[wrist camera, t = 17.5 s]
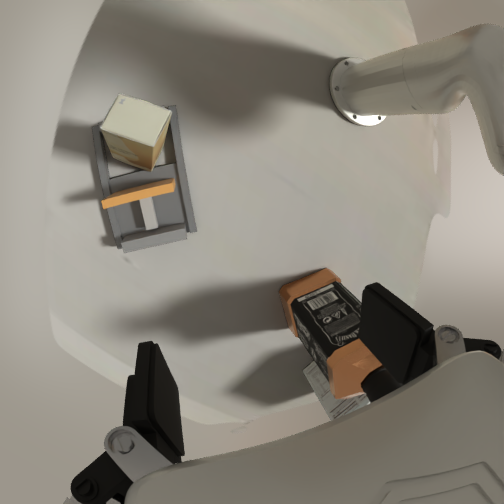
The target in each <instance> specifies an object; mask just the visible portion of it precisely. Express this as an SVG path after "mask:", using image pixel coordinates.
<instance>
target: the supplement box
mask: <svg viewBox="0 0 504 504" xmlns="http://www.w3.org/2000/svg"><path fill="white" fill-rule="evenodd" d="M303 373H304V375H305V376H306V378H307V380H308V382H309V383H310V385H311V387H312V389H313V390H314V392H315V394H316V395H317V397H318V399H319V401H320V402H321V404H322V406H323V408H324V409H325V411H326V413H327V414H328V416H329V418H330V420H331V421H332V420H334V419H337V418H339V417H341V416H344V415H346V414H348V413H350V412H353V411H355V410H357V409H359V408H361V407H363V406H365V405H368V404H370V401H369V399H368V397H367V395H366V393H364V394H361V395H358V396H355V397H352V398H349V399H335V398H334V396H333V394H332V393H331V391H330V384H329V382H328V380H327V379H326V377H325V376H324V375H323V373H322V372H321V370H320V369H319V367H318V366H317V364H316V363H315V361H313V362H312V363H311V364H310V365H308V366H307V367H306V368H305V369H304V370H303Z"/></svg>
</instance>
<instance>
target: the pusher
mask: <svg viewBox="0 0 504 504" xmlns="http://www.w3.org/2000/svg"><path fill="white" fill-rule="evenodd" d="M175 185H176V184H175V179H174V178H171V179H167V180H162V181H158V182H153V183H149V184H145V185H141V186H137V187H133V188H129V189H125V190H122V191H118V192H115V193H113V194H112V195H110V196H108V197H107V198H105V199H103V200H102V201H101V202H102V206H103V209H106V208H109V207H113V206H117V205H120V204H124V203H128V202H132V201H136V200H140V205H141V209H142V214H143V218H144V222H145V226H146V230H150V229H154V228H158V222H157V217H156V213H155V209H154V204H153V199H152V196H157V195H161V194H165V193H170V192H174V189H175Z"/></svg>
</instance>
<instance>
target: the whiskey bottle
mask: <svg viewBox="0 0 504 504" xmlns="http://www.w3.org/2000/svg"><path fill="white" fill-rule="evenodd" d="M279 294H280V298H281V302H282V305H283V309H284V313H285V317H286V320H287V324H288V327H289V328H290V330H291V331H292V332H293V334H294V335H295V337H298V338H299V339H300V340H301V342H302V343H303V345H304V346H305V348H306V349H307V351H308V352H309V354H310V355H311V357H312V358H313V360H314V361H315V363H316V364H317V366H318V367H319V369H320V370H321V372H322V373H323V375H324V376H325V377H326V379H327V380H328V382H329V384H330V391H331V393H332V394H333V396H334V398H335V399H349V398H352V397H355V396H358V395H361V394H364V393H366V395H367V397H368V399H369V401H370V403H372V402H374V401H376V400H378V399H380V398H381V397H383V396H385V395H387V394H389V393H391V392H393V391H395V390H396V389H398V388H400V387H402V386H403V384H402V383H398V382H397V381H396V379H395V378H394V377H393V376H392V375H391V374H390V373H389V372H388V370H387V369H386V368H385V367H384V366H383V365H382V364H381V363H380V362H379V360H378V359H377V358H376V357H375V356H374V355H373V354H372V353H371V351H370V350H369V349H368V348H367V347H366V346H365V345H364V344H363V343H362V342H361V340H360V339H359V336H358V332H359V323H360V314H361V304H362V303H361V302H360V301H359V300H358V299H357V298H356V297H355V296H354V295H353V294H352V293H351V292H350V291H349V290H348V289H346V288H345V287H344V286H343V285H342V284H341V279H340V278H339V277H338V276H337V275H336V274H335V273H334V272H333V271H332V270H330V269H327V268H325V269H323V270H320V271H318V272H315V273H313V274H311V275H308V276H306V277H303V278H301V279H298V280H296V281H293V282H291V283H288V284H286V285H283V286H282V288H281V289H280V291H279Z"/></svg>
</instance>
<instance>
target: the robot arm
mask: <svg viewBox="0 0 504 504" xmlns="http://www.w3.org/2000/svg"><path fill="white" fill-rule="evenodd" d="M329 85H330V92H331V96H332V99H333V101H334V103H335V105H336V107H337V108H338V110H339V111H340V112H341V113H342V114H343V116H344V117H346V118H347V119H348V120H349V121H351V122H353V123H355V124H357V125H360V126H373V125H377V124H379V123H380V122H382V121H383V120H384V119H385V117H386V116H389V115H407V114H445V113H449V112H451V111H453V110H455V109H456V108H457V107H458V106H459V105H460V104H461V103H462V101H463V100H464V98H465V96H466V95H467V96H468V98H469V99H470V101H471V104H472V107H473V109H474V111H475V114H476V117H477V120H478V124H479V126H480V130H481V134H482V137H483V141H484V144H485V148H486V152H487V155H488V158H489V160H490V162H491V164H492V166H493V167H494V169H496V171H497V172H499V173H500V174H501V175H503V176H504V28H503V27H500V26H498V25H494V24H480V25H476V26H472V27H469V28H467V29H464V30H461V31H459V32H456V33H454V34H452V35H449V36H446V37H443V38H440V39H437V40H433V41H430V42H426V43H423V44H419V45H415V46H412V47H408V48H404V49H401V50H398V51H394V52H391V53H388V54H385V55H382V56H379V57H376V58H373V59H370V60H367V61H366V60H364V59H360V58H347V59H344V60H342V61H340V62H339V63H337V65H336V66H335V67H334V68H333V70H332V72H331V76H330V83H329ZM433 326H434V325H433V324H431V323H430V322H429V321H428V320H426V319H425V318H424V317H422V316H421V315H420V314H419V313H417V312H416V311H415V310H414V309H412V308H411V307H410V306H408V305H407V304H406V303H405V302H403V301H402V300H401V299H399V298H398V297H397V296H395V295H394V294H393V293H391V292H390V291H389V290H387V289H386V288H385V287H383V286H382V285H381V284H379V283H377V282H375V283H373V284H370V285H367V286H366V287H365V289H364V290H363V293H362V304H361V314H360V323H359V332H358V336H359V339H360V340H361V342H362V343H363V344H364V345H365V346H366V347H367V348H368V349H369V350H370V351H371V353H372V354H373V355H374V356H375V357H376V358H377V359H378V360H379V362H380V363H381V364H382V365H383V366H384V367H385V368H386V369H387V370H388V372H389V373H390V374H391V375H392V376H393V377H394V378H395V379H396V381H397V382H398V383H402V384H403V386H402V387H400V388H398V389H396V390H395V391H393V392H391V393H389V394H387V395H385V396H383V397H381V398H380V399H378V400H376V401H374V402H372V403H370V404H368V405H365V406H363V407H361V408H359V409H357V410H355V411H353V412H350V413H348V414H346V415H344V416H341V417H339V418H337V419H334V420H332V421H329V422H327V423H324V424H322V425H319V426H317V427H314V428H312V429H309V430H306V431H303V432H300V433H298V434H295V435H291V436H288V437H285V438H282V439H279V440H275V441H272V442H269V443H265V444H261V445H258V446H254V447H250V448H246V449H242V450H238V451H233V452H229V453H225V454H220V455H215V456H210V457H204V458H200V459H195V460H190V461H185V462H182V461H181V456H184V454H185V452H184V443H183V435H182V425H181V415H180V403H179V391H178V387H177V384H176V382H175V380H174V378H173V376H172V374H171V372H170V370H169V368H168V365H167V363H166V361H165V359H164V357H163V354H162V352H161V350H160V347H159V345H158V344H157V343H156V344H154V343H153V342H152V341H148V342H142V343H139V345H138V352H137V359H136V367H135V375H129V377H128V380H127V388H126V397H125V407H124V416H123V426H120V427H116V428H114V429H112V430H111V431H110V432H109V433H108V434H107V436H106V438H105V441H104V447H105V450H106V451H105V452H104V453H103V454H102V455H101V456H99V457H98V458H97V459H96V460H95V461H94V462H92V463H91V464H90V465H89V466H88V467H86V468H85V469H84V470H83V471H82V472H80V473H79V474H78V475H77V476H76V477H75V478H74V479H73V480H72V483H71V492H72V497H71V498H70V499H69V498H67V499H66V500H65V502H64V504H504V349H503V351H501V348H500V347H499V345H498V344H496V343H495V342H493V341H491V340H482V339H469V338H463V336H462V333H461V332H460V331H459V329H457V328H456V327H454V326H451V325H442V326H439V327H438V328H437V329H436V330H435V331H434V330H433ZM175 463H177V464H175Z"/></svg>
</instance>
